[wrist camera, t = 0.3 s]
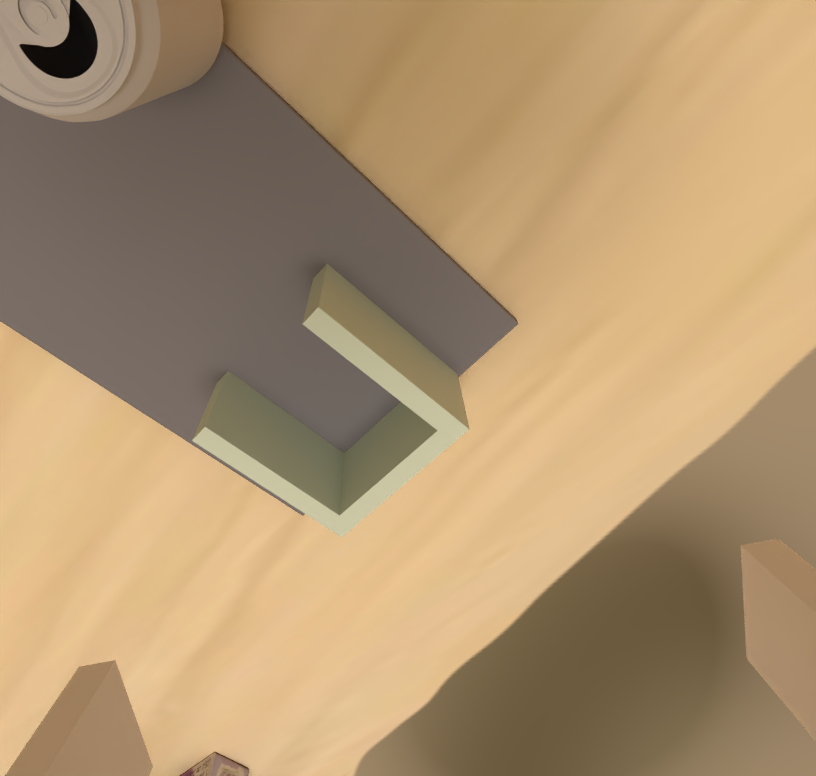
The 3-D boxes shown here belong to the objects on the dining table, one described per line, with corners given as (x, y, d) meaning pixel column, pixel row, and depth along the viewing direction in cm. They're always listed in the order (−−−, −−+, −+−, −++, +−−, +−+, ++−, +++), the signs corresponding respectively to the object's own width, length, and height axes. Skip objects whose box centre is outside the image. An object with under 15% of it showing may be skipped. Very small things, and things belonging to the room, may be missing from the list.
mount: (89, -83, 28) (15, -107, 22) (516, 319, 38) (540, 373, 33) (-103, 246, 34) (-198, 293, 29) (303, 509, 45) (293, 582, 39)
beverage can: (154, 117, 31) (46, 170, 21) (49, -13, 28) (-137, -27, 18) (256, 35, 30) (194, 48, 19) (156, -112, 27) (19, -188, 16)
